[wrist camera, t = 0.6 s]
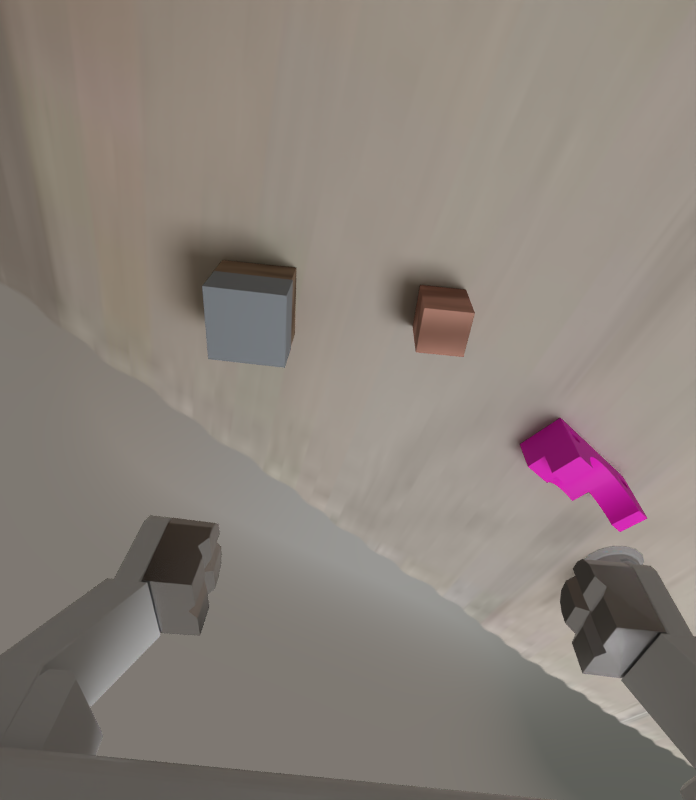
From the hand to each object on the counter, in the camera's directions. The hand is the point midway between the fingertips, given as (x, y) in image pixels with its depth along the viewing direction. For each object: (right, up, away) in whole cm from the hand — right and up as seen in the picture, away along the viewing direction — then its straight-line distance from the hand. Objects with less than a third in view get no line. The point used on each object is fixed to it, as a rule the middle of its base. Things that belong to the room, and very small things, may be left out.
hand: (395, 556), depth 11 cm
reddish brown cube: (+9, +14, +42) cm, 45 cm away
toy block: (+30, -5, +55) cm, 62 cm away
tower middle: (-11, +13, +40) cm, 43 cm away
